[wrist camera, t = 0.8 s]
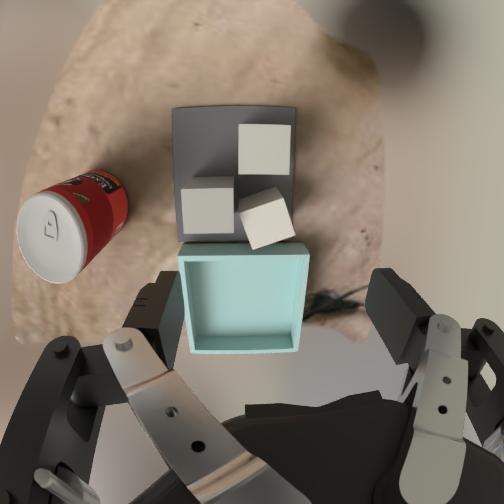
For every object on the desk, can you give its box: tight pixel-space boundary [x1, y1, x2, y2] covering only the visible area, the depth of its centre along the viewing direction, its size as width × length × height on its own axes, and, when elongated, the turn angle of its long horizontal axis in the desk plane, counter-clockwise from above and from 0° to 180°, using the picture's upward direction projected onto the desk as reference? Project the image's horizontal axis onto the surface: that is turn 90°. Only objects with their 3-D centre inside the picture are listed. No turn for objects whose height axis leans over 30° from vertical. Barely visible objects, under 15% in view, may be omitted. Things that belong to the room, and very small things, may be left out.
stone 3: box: [238, 187, 295, 250], centre depth 27 cm, size 4×4×5 cm
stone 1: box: [181, 176, 234, 234], centre depth 26 cm, size 4×4×6 cm
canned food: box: [17, 171, 128, 284], centre depth 23 cm, size 8×8×11 cm
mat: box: [172, 106, 295, 242], centre depth 28 cm, size 14×12×1 cm
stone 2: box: [238, 124, 291, 175], centre depth 24 cm, size 4×4×6 cm
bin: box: [177, 243, 310, 354], centre depth 32 cm, size 13×13×3 cm
